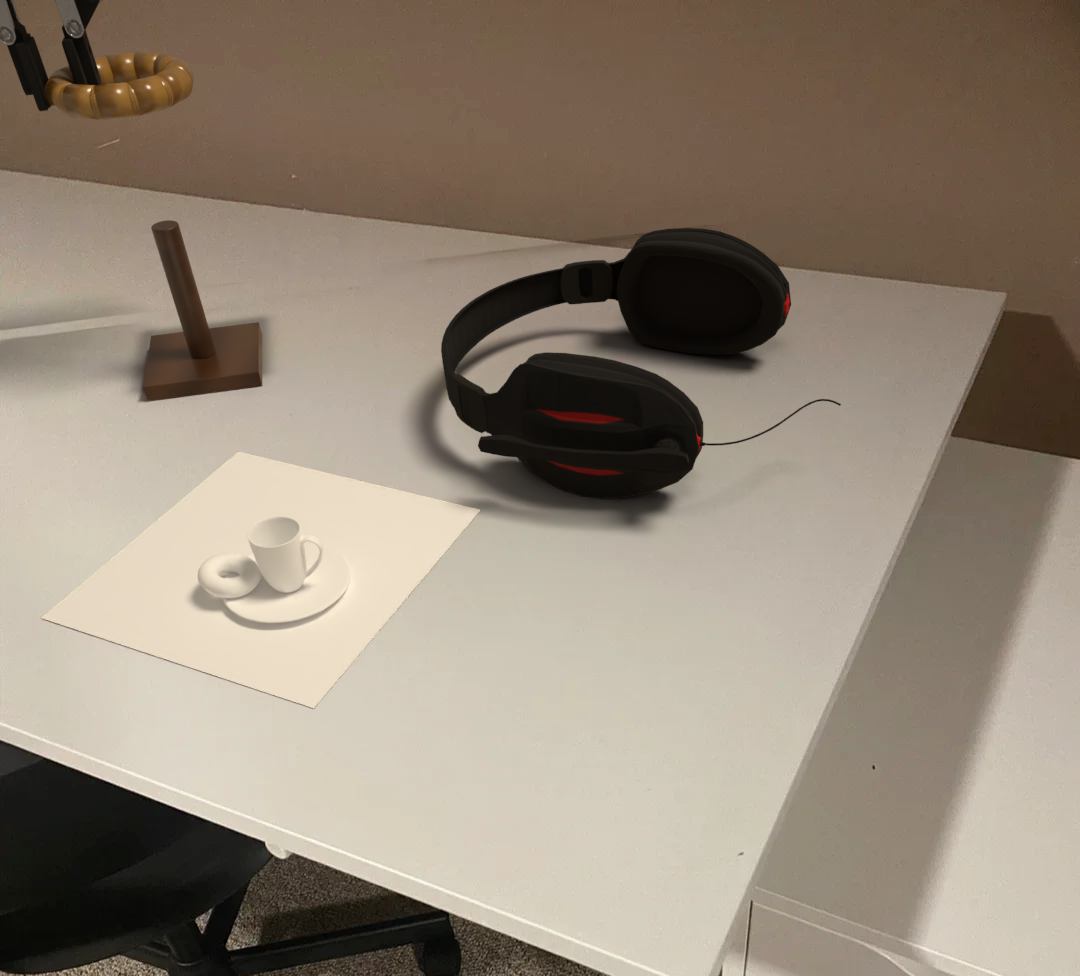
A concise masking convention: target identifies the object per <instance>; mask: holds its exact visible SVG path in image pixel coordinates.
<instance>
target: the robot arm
mask: <svg viewBox="0 0 1080 976" xmlns="http://www.w3.org/2000/svg"><path fill="white" fill-rule="evenodd" d="M103 1H104V0H54V3H55V6H56V8H57V11H58V13H59V16H60V19H61V22H62V24H63V25H62V26H61V31H62V33H63V39H62V41H61V46H62V50H63V53H64V56H65V58H66V61H67V65H69V67H70V70H71V73H72V76H73V79H74V82H75V84H81V85H102V84H101V78H100V75H99V71H98V68H97V65H96V62H95V59H94V58H95V56H94V53H93V49H92V46H91V43H90V40H89V37H88V34H87V30H86V29H88V26H89V23H90V22H91V20H92V17H93V16H94V14H95V11H96V10H97V8H98V6H99V4H101V3H102V2H103ZM35 39H36V38H35V37H34V36H33V35H31V33H30V32H28V31H27V29H26V26H25V25H24V24H23V23H21V19H20V16H19V13H18V10H17V6H16V3H15V1H14V0H0V43H2V44H3V45H6V48H7V50H8V52H9V55H10V58H11V61H12V63H13V66H14V68H15V72H16V74H17V77H18V79H19V82H20V85H21V87H22V91H23V92H24V93H23V94H25V95H26V96H33V99H34V102H35V104H36V107H37V110H38V112H45V111H46V112H48V110H49V109H51V107H52V106H51V105H50V104H49V103H48V101H47V99H46V97H45V86H46V84H47V82H48V79H49V77H48V74H47V71H46V68H45V65H44V62H43V59H42V57H41V54H40V50H39V48H38V45H37V42H36V40H35Z"/></svg>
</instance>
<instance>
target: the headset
mask: <svg viewBox="0 0 1080 976" xmlns="http://www.w3.org/2000/svg"><path fill="white" fill-rule="evenodd" d="M790 289H791V288H790V282H789V281H788V279H787V278H786V276H785V274H784V273H783V271H782V270H781V268H780V267H779V265H778V263H776V262H775V261H773V260H772V259H771V258H769V256H767V255H766V254H765V253H764V252H763V251H761V250H759V249H758V248H757V247H755V246H754V245H752V244H750V243H748V242H747V241H745V240H744V239H741V238H739V237H737V236H734V235H731V234H728V233H725V232H723V231H719V230H714V229H708V228H702V227H701V228H698V227H697V228H696V227H675V228H665V229H658V230H653V231H650V232H646V233H644V234H642V235H641V236H640V237H639V238H638V239H637V240H636V241H635V243H634V245H633V246H632V248H631V249H630V250H629V252H628V253H627V254H626V255H625V257H623V258H621V259H619V260H616V261H612V262H607V261H606V260H605V259H594V260H584V261H574V262H571V263H567V264H566V263H565V265H564V266H563V267H561V268H556V269H550V270H546V271H541V272H536V273H532V274H528V275H525V276H522V277H518V278H515V279H513V280H510V281H507V282H505V283H503V284H500V285H498V286H496V287H493V288H491V289H489V290H487V291H486V292H484V293H482V294H479V296H477V297H475V298H474V299H472V300H471V301H469V302H468V303H467V304H465V306H463V307H462V308H461V309H459V311H458V312H457V313H456V314H455V315H454V317H453V318H452V319H451V320H450V321H449V324H448V325H447V327H446V328H445V331H444V334H443V336H442V340H441V344H440V345H441V347H440V352H441V353H440V354H441V361H442V366H443V375H444V382H445V388H446V393H447V397H448V400H449V402H450V404H451V406H452V407H453V409H454V412H455V414H456V416H457V417H458V419H459V420H460V421H461V422H462V423H464V424H465V425H466V426H468V427H469V428H470V429H473V430H474V431H476V432H478V433H480V434H483V433H485V432H486V433H487V434H489V435H484V436H483V435H482V436H481V437H479V440H478V443H477V447H478V449H479V451H480V452H481V453H485V454H490V455H495V456H502V457H509V458H516V459H518V460H519V462H520V463H521V464H522V465H523V466H524V467H525V468H526V469H527V470H528V471H529V472H530V473H532V474H533V475H534V476H535V477H537V478H538V479H540V480H542V481H543V482H545V483H547V484H549V485H551V486H552V487H555V488H557V489H558V490H561V491H563V492H566V493H571V494H574V495H578V496H581V497H587V498H594V499H621V498H628V497H629V498H630V497H635V496H640V495H644V494H650V493H652V492H656V491H659V490H662V489H664V488H667V487H670V486H672V485H674V484H677V483H679V482H680V481H681V480H682V479H683V478H684V477H685V476H687V475H688V474H689V473H690V472H691V471H692V470H693V469H694V466H695V463H696V460H697V458H698V457H699V455H700V453H701V451H702V449H703V447H705V446H726V445H727V446H729V445H734V444H739V443H742V442H743V443H744V442H747V441H749V440H752V439H755V438H757V437H759V436H762V435H764V434H765V433H768V432H770V431H772V430H773V429H776V428H777V427H778V426H780V425H781V424H783V423H784V422H786V421H787V420H788V419H790V418H791V417H793V416H794V415H795V414H797V413H798V412H800V411H801V410H803V409H804V408H806V407H808V406H810V405H812V404H814V403H817V402H829V403H832V404H835V405H838V406H840V407H841V406H842V404H841V403H840V402H837V401H836V400H832V399H828V398H819V399H815V400H812V401H809V402H808V403H806V404H804V405H802V406H801V407H799V408H798V409H796V410H795V411H794V412H792V413H791V414H789V415H788V416H786V417H785V418H784V419H782V420H781V421H779V422H778V423H776V424H774V425H773V426H771V427H770V428H768V429H765V430H764V431H762V432H759V433H757V434H755V435H752V436H749V437H745V438H743V439H740V440H736V441H729V442H721V443H719V442H718V443H717V442H716V443H712V442H711V443H707V442H704V421H703V417H702V414H701V412H700V409H699V407H698V406H697V405H696V404H695V402H693V400H691V398H690V397H688V395H687V394H686V393H685V392H684V391H682V390H681V389H680V388H679V387H677V386H676V385H675V384H673V383H672V382H671V381H669V380H668V379H666V378H664V377H663V376H660V375H659V374H657V373H655V372H653V371H650V370H647V369H644V368H641V367H639V366H636V365H632V364H629V363H625V362H622V361H619V360H615V359H610V358H605V357H600V356H593V355H585V354H578V353H568V352H539V353H535V354H532V355H530V356H529V357H528V358H527V359H526V361H525V362H523V363H519V365H517V366H516V367H515V368H514V369H513V370H512V371H511V373H510V375H509V376H508V378H507V379H506V380H505V382H504V383H503V385H502V386H500V388H499V389H498V390H497V391H496V392H491V393H489V392H486V390H485V389H484V388H483V387H482V386H480V385H478V384H476V383H474V382H472V381H471V380H469V379H467V378H466V377H465V376H463V375H462V374H460V373H456V371H457V368H458V366H459V364H460V363H461V362H462V361H463V359H464V358H465V357H466V356H467V355H468V354H469V353H470V352H471V350H472V349H474V348H475V347H476V346H477V345H478V344H479V343H480V342H481V341H483V340H484V339H485V338H486V337H488V336H490V335H491V334H492V333H494V332H495V331H496V330H499V329H501V328H502V327H504V326H506V325H507V324H510V323H512V322H514V321H515V320H518V319H520V318H523V317H524V316H527V315H529V314H532V313H534V312H537V311H541V310H544V309H546V308H550V307H553V306H557V305H561V304H562V305H563V304H568V305H582V304H595V303H605V302H606V301H608V300H614V301H616V302H617V303H618V306H619V311H620V313H621V316H622V318H623V320H624V324H625V325H626V327H627V330H628V331H629V333H630V335H631V336H632V338H634V339H635V340H636V341H637V342H639V343H640V344H644V345H646V346H649V347H653V348H657V349H662V350H668V351H673V352H678V353H685V354H686V353H687V354H694V355H695V354H696V355H719V356H720V355H722V356H723V355H732V354H733V355H734V354H740V353H744V352H747V351H750V350H753V349H754V348H758V347H760V346H762V345H764V344H765V343H766V342H768V341H769V340H771V339H772V338H774V336H776V335H777V333H778V331H779V330H780V329H782V327H784V326H785V324H786V321H787V318H788V315H789V313H790V309H791V306H792V299H791V291H790Z"/></svg>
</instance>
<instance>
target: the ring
mask: <svg viewBox="0 0 1080 976" xmlns="http://www.w3.org/2000/svg"><path fill="white" fill-rule="evenodd" d="M94 59H95V62H96V65H97V68H98V71H99V75H100V78H101V84H102V85H81V84H75V82H74V79H73V76H72V73H71V70H70V67H69V64H67V65H66V66H63V67H61V68H59V69H57V70H55V71H53V72H52V73H51V74H50V76H49V77H48V82H47V84H46V86H45V97H46V99H47V101H48V103H49V104H50V105H51V107H52V109H54V110H55V111H58V112H60V113H61V114H64V115H66V116H68V117H70V118H73V119H81V120H82V119H83V120H84V119H85V120H99V121H106V120H107V121H108V120H116V119H126V118H136V117H140V116H144V115H148V114H152V113H155V112H160V111H164V110H167V109H169V108H171V107H173V106H175V105H177V104H178V103H180V102H182V101H185V100H186V99H187V98H189V97H190V95H191V94H192V91H193V86H194V72H193V70H192V68H191V66H190V65H189V64H188V63H187V62H186V61H185V60H183V59H181V58H179V57H176V56H173V55H170V54H168V53H163V52H162V53H161V52H159V53H158V52H140V51H139V52H125V53H115V54H107V55H105V54H104V55H101V56H97V57H94Z"/></svg>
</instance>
